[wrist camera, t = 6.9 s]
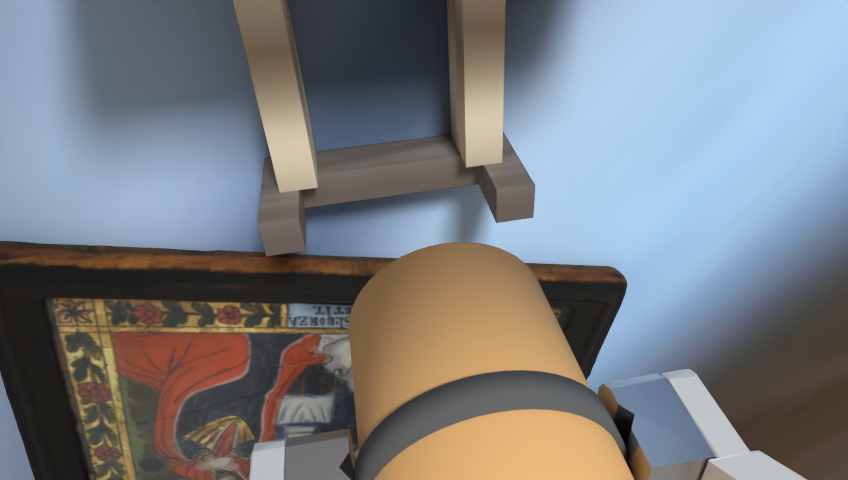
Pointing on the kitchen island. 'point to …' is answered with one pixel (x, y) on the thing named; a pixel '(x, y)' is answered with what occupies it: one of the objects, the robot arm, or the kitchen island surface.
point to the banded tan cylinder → (471, 376)
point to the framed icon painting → (203, 352)
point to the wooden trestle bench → (387, 162)
